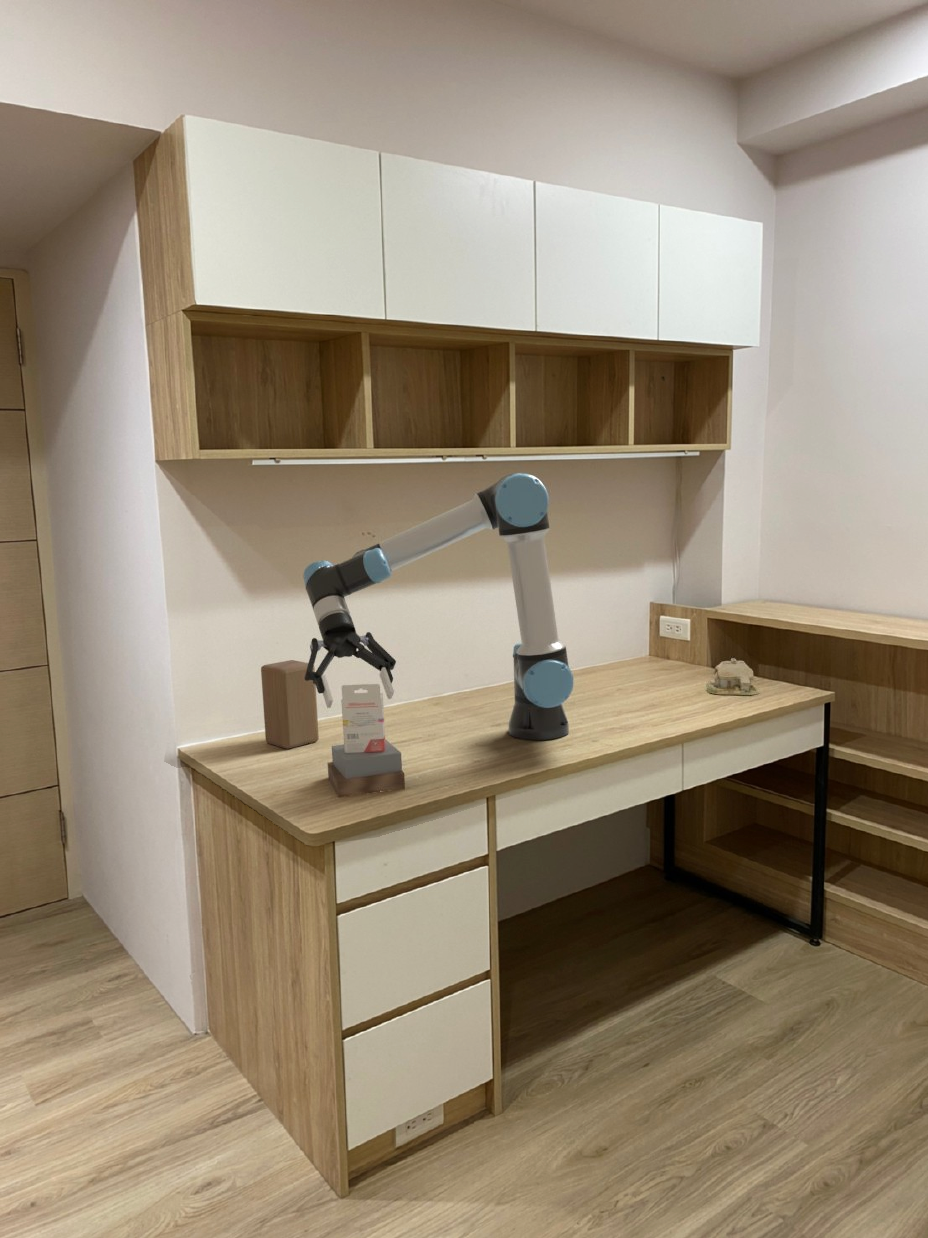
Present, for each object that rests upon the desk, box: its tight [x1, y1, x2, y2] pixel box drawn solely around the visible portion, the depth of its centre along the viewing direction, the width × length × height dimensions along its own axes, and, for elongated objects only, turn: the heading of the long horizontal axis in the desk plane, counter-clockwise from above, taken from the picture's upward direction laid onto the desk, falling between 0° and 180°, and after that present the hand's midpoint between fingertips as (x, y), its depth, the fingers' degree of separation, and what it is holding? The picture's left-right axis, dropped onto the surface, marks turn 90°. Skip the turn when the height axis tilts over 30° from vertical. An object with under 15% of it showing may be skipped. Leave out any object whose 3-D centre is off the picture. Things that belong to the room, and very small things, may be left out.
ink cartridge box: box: [340, 683, 386, 753], centre depth 198 cm, size 9×5×15 cm, turn 91°
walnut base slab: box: [327, 761, 406, 798], centre depth 200 cm, size 14×14×4 cm
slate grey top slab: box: [331, 738, 403, 779], centre depth 199 cm, size 12×12×4 cm
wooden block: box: [260, 659, 320, 750], centre depth 233 cm, size 10×10×20 cm
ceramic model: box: [705, 657, 760, 696], centre depth 271 cm, size 14×11×10 cm
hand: (361, 700), depth 197 cm, fingers open, 13 cm apart
